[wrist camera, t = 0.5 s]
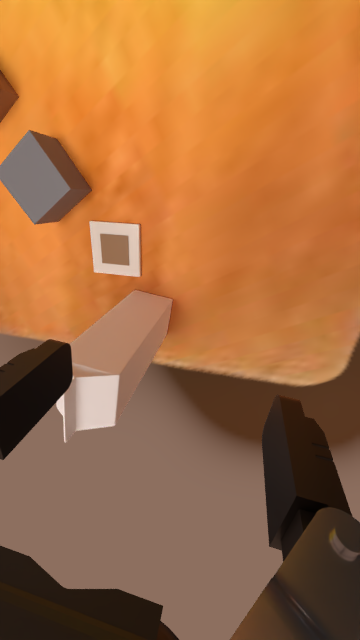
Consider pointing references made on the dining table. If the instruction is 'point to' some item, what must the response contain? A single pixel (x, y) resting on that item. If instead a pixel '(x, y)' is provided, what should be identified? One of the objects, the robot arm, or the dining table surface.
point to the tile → (116, 248)
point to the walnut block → (6, 96)
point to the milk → (113, 361)
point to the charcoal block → (43, 178)
